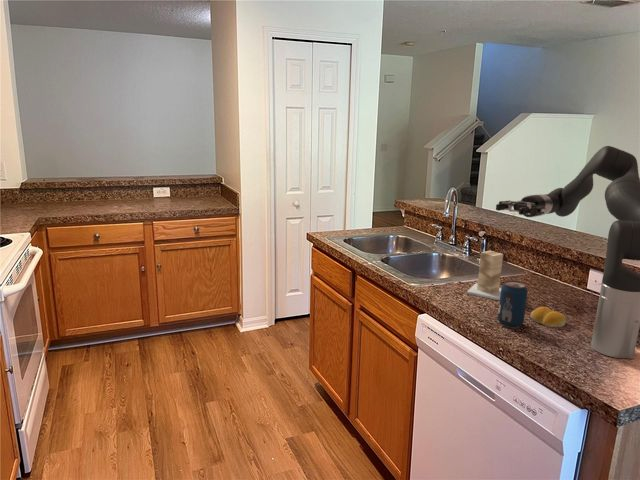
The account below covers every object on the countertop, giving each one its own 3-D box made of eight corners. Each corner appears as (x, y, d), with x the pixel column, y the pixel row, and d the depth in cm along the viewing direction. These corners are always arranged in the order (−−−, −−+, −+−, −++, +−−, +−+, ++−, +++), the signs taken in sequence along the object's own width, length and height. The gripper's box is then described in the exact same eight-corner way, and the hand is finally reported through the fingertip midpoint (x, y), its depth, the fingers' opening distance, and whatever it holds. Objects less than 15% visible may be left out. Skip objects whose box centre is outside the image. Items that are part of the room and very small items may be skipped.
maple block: (498, 291, 159) (503, 253, 156) (489, 293, 156) (493, 256, 153) (486, 286, 163) (490, 250, 160) (476, 289, 160) (480, 252, 157)
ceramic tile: (508, 291, 162) (508, 289, 161) (500, 300, 153) (501, 298, 153) (475, 284, 167) (476, 282, 167) (466, 293, 159) (466, 291, 158)
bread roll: (555, 331, 131) (557, 317, 130) (526, 320, 139) (528, 307, 138) (571, 324, 136) (573, 311, 135) (542, 314, 143) (543, 301, 142)
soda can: (520, 320, 138) (525, 281, 135) (525, 330, 131) (531, 289, 128) (495, 317, 139) (500, 278, 136) (499, 327, 132) (504, 286, 130)
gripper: (518, 192, 171) (491, 195, 162) (557, 197, 159) (529, 201, 150) (516, 212, 172) (488, 216, 163) (554, 219, 161) (526, 224, 152)
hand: (508, 209), depth 157 cm, fingers open, 8 cm apart
